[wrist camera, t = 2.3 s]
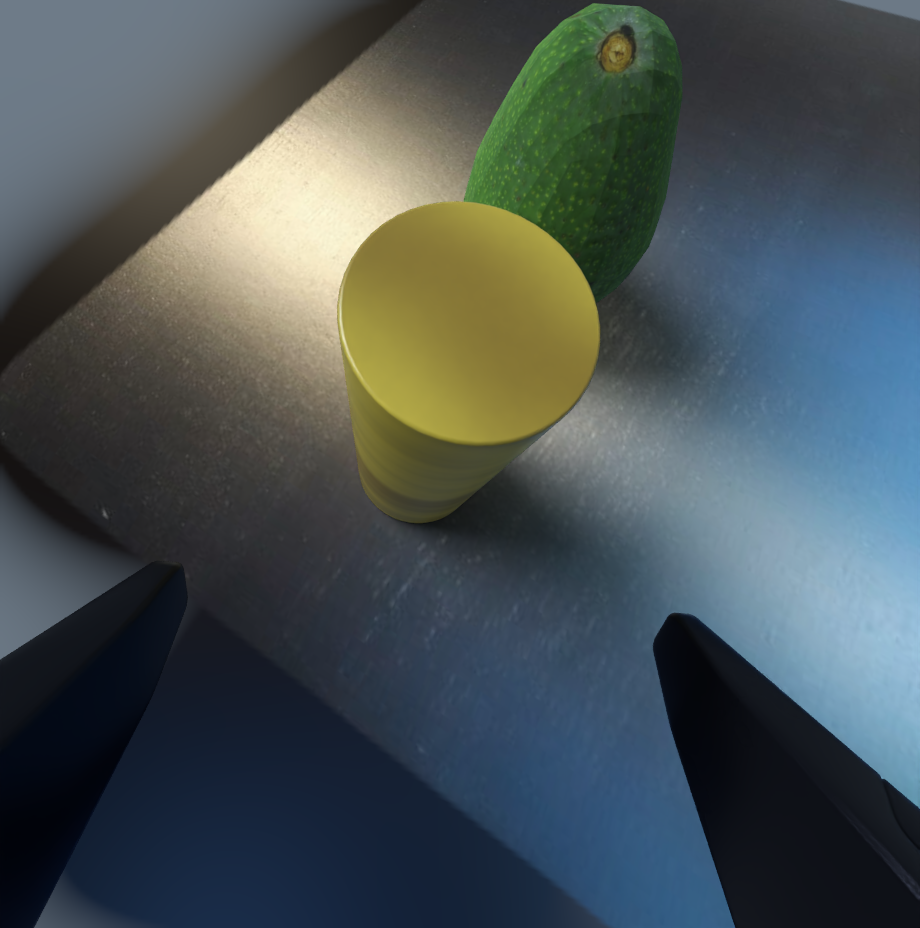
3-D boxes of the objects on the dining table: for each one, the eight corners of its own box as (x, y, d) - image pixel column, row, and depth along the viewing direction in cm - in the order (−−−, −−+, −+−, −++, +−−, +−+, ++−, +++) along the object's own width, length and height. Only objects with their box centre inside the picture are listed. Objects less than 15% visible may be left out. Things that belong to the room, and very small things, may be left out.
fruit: (431, 220, 25) (480, -89, 13) (573, 209, 27) (726, -73, 15) (464, 363, 23) (552, 155, 12) (613, 343, 25) (816, 143, 14)
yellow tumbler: (448, 542, 21) (553, 491, 9) (338, 494, 21) (285, 370, 9) (491, 438, 23) (633, 269, 10) (388, 391, 22) (406, 158, 10)
